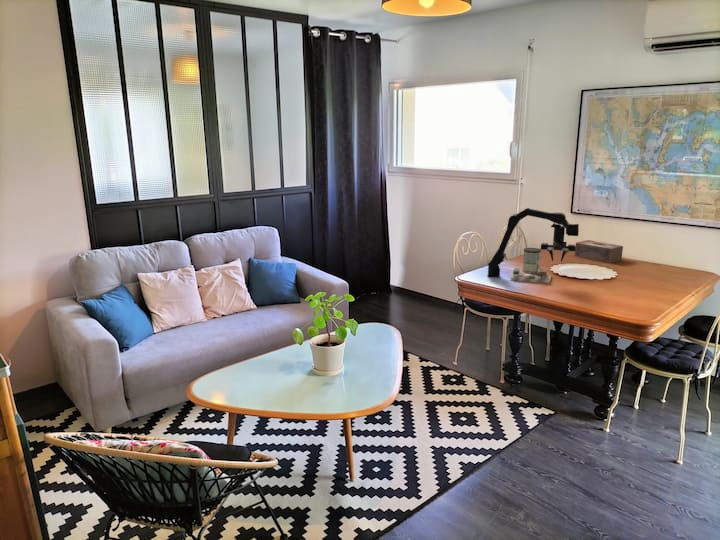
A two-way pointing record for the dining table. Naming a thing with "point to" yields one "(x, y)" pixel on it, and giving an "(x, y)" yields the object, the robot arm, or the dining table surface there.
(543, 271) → the gauge carriage
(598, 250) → the tissue box cover
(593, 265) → the dining table surface
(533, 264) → the coffee can
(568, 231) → the robot arm
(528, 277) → the base
